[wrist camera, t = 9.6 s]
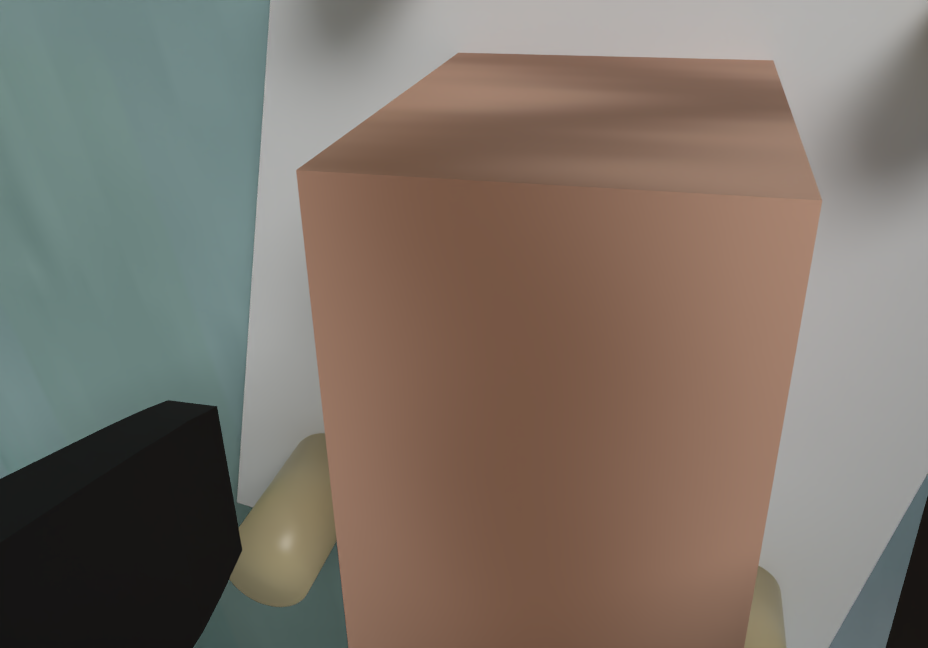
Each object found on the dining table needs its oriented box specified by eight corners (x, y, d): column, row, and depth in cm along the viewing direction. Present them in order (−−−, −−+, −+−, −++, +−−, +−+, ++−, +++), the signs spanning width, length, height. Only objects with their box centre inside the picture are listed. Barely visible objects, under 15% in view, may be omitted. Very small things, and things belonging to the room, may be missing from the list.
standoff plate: (1204, -105, 11) (1443, -94, 8) (801, 639, 18) (824, 831, 14) (324, -278, 13) (169, -339, 9) (261, 469, 20) (160, 605, 16)
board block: (772, 59, 12) (822, 200, 7) (716, 471, 15) (720, 778, 10) (458, 53, 13) (296, 171, 8) (466, 439, 16) (354, 704, 11)
